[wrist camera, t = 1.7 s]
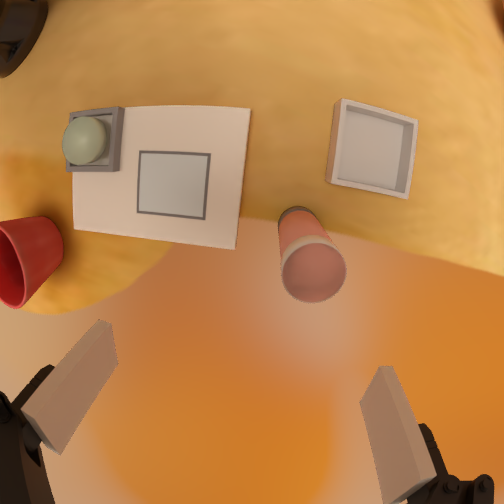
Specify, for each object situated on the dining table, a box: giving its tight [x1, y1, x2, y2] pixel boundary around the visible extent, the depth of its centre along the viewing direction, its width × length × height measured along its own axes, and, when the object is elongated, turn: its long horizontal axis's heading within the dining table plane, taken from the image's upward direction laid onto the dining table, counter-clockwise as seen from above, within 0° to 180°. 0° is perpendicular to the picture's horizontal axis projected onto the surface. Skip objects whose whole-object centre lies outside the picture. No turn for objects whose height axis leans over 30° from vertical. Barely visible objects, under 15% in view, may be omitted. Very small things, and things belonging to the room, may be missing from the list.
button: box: [62, 116, 107, 165], centre depth 23 cm, size 5×5×2 cm
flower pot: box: [0, 216, 64, 309], centre depth 26 cm, size 11×11×10 cm
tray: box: [325, 98, 419, 200], centre depth 24 cm, size 8×8×3 cm
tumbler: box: [278, 207, 347, 303], centre depth 23 cm, size 4×4×12 cm
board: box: [66, 105, 251, 250], centre depth 26 cm, size 14×20×3 cm
